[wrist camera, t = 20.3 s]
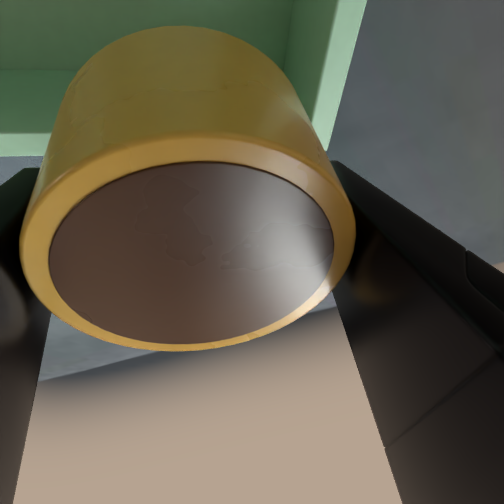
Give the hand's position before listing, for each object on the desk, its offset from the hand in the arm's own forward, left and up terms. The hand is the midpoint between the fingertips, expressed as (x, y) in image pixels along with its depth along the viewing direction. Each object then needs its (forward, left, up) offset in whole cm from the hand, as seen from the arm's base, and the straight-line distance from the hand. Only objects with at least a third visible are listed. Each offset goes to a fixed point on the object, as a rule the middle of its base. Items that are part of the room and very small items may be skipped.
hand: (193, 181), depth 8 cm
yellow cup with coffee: (0, 0, -1) cm, 1 cm away
